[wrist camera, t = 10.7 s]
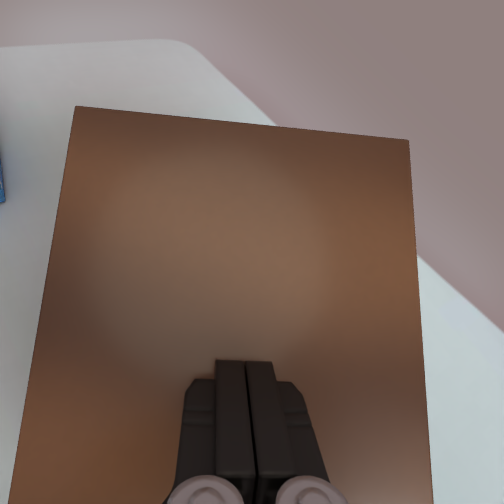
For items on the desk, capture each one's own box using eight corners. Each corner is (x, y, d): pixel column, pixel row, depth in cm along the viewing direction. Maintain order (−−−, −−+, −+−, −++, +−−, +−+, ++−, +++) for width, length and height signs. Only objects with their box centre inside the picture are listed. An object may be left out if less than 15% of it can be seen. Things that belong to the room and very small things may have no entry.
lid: (81, 118, 13) (74, 104, 12) (398, 150, 14) (409, 139, 14) (-8, 667, 9) (-27, 695, 9) (428, 646, 11) (445, 670, 10)
